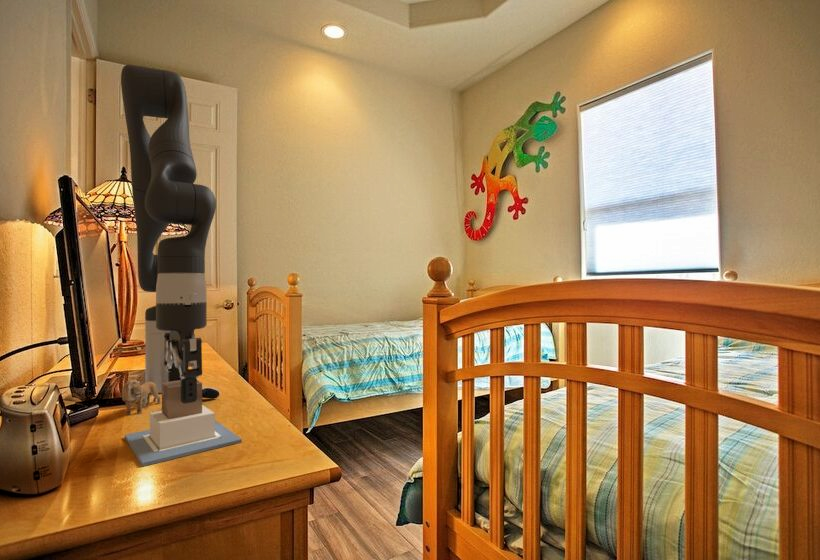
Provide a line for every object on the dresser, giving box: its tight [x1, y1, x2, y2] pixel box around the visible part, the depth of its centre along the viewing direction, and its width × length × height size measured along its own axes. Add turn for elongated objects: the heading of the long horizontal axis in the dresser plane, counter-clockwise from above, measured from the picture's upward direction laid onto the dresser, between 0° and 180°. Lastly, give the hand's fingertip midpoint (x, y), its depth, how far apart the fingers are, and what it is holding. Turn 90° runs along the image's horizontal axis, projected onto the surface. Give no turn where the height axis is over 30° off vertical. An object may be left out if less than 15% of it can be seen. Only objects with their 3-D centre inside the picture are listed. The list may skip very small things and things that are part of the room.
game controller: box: [202, 386, 221, 400], centre depth 92 cm, size 10×5×6 cm
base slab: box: [149, 404, 216, 450], centre depth 71 cm, size 8×8×4 cm
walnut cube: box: [161, 379, 203, 419], centre depth 71 cm, size 5×5×5 cm
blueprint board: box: [124, 419, 243, 467], centre depth 71 cm, size 16×14×1 cm
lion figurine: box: [121, 379, 162, 416], centre depth 89 cm, size 12×4×7 cm, turn 9°
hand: (182, 397), depth 71 cm, fingers open, 8 cm apart
